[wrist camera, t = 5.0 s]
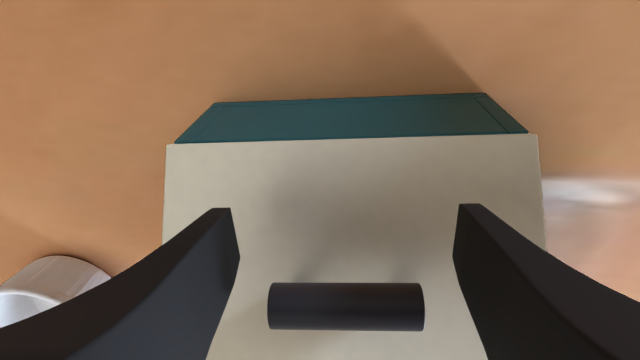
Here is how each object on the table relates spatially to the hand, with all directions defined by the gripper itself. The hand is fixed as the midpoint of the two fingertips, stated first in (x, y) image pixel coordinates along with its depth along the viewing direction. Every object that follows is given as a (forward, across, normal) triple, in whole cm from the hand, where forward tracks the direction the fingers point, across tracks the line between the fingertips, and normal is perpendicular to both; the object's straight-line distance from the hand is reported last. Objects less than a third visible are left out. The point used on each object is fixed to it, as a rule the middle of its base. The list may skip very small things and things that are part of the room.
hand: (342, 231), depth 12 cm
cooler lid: (+1, 0, +4) cm, 4 cm away
